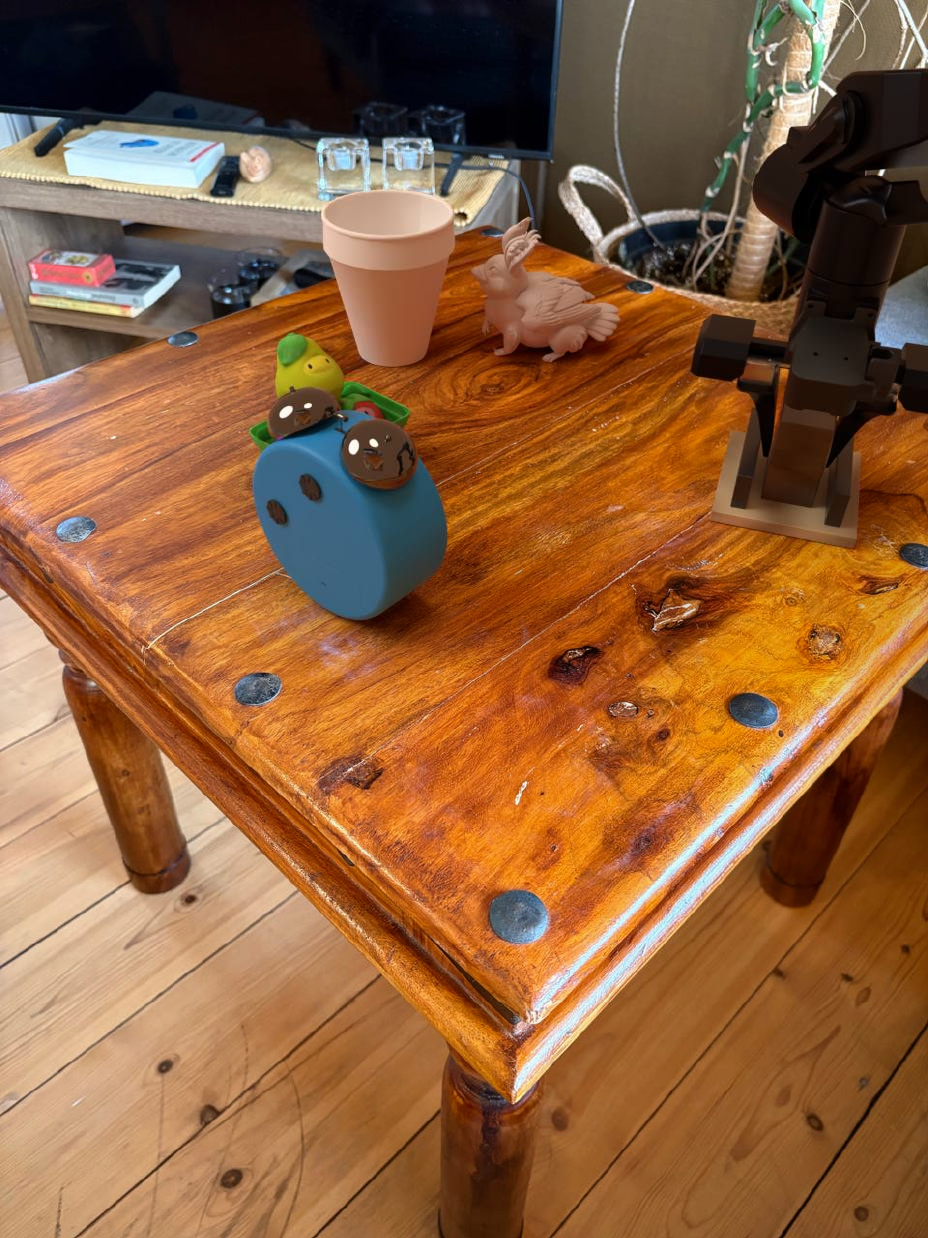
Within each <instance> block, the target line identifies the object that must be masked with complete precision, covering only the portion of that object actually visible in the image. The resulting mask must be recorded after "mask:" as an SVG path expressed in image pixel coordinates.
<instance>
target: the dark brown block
mask: <svg viewBox="0 0 928 1238" xmlns="http://www.w3.org/2000/svg"><path fill="white" fill-rule="evenodd" d="M782 395H783V396H784V394H782ZM783 396H782V397H783ZM838 418H839V417H838V416H832V415H830V414H829V413H826V412H820V411H814V410H808V409H804V410H796V409H792V408H790V407H788V406H787V405H786V404H785V402H784V400H783V398H782V399H781V404H780V408H779V411H778V415H777V419H776V422H775V425H774V433H773V439H772V444H771V448H770V452H769V456H768V459H767V464H766V470H765V475H764V481H763V486H762V492H761V499H766V500H771V501H777V502H782V503H787V504H793V505H798V506H803V507H808V508H812V505H813V502H814V499H815V496H816V492H817V489H818V486H819V483H820V479H821V478H822V475H823V473H824V470H825V467H826V464H827V460H828V457H829V453H830V450H831V446H832V442H833V438H834V433H835V428H836V423H837V420H838Z"/></svg>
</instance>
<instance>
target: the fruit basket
mask: <svg viewBox="0 0 928 1238" xmlns="http://www.w3.org/2000/svg"><path fill="white" fill-rule="evenodd" d="M276 366H277V367H276V374H275V378H274V379H275V381H274V385H275V387H274V388H275V393H276V396H277V400H278V399H279V398H280V397H281V396H283V395H285V394H287V393H289V392H290V390H289V387H291V386H294V389H295V390H296V389H299V388H302V387H318V388H322V389H324V390H327V391H328V392H330V393H331V394H333V395H334V396H335V397H336V399H337V400H338V402H339V404H340V407H341V410H340V411H342V410H352V411H358V412H361V413H365V414H368V415H370V416H373V417H375V418H379V419H385V420H388V421H391V422H394V423H395V424H397V425H399V426H400V427H402V428H403V429H404V430H405V426H406V425H407V423H408V420H409V419H410V415H411V409H409V407H407V406H406V405H404V404H402V403H400V402H397V401H396V400H393V399H391V398H389V397H388V396H386V395H384V394H381V393H380V392H378V391H375V390H374V389H372V388H370V387H368V386H366V385H364V384H361V383H360V382H357V381H345V379H346V378H345V375H344V373H343V370H342V369H341V367H340V366H339V364H338V363H337V362H336V360H334V359H333V357H331V356H330V355H329V354H327V352H325V351H324V350H323V349H322V347H321V346H320V345H319V344H318V342H316V341H315V340H314V339H312V338H310V337H307V336H305V335H302V334H296V332H294V331H293V332H290V333H287V334H286V336H284V337H282V338H281V339H280V340H279V342H278V343H277V345H276ZM248 432H249V435H250V437H251V439H252V441H253V443H254V444H255V446H257V448H258V449H259V451H260V454H261V453H262V452H263V451H264V449H265V448H267V447H268V446H269V445H270V444H272V443H274V442H276V441H278V440H280V439H282V438H284V437H286V436H288V435H290V434H291V433H290V434H287V435H283V436H279V437H271V436H270V433H269V431H268V427H267V418H266V419H265V420H263V421H260V422H259V423H257V424H255V425H253V426H252V427H250V428H249V430H248Z"/></svg>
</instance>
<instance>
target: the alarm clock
mask: <svg viewBox="0 0 928 1238" xmlns="http://www.w3.org/2000/svg"><path fill="white" fill-rule="evenodd" d="M289 390H290V392H289V393H287V394H285V395H283V396H281V397H280V398H279V399H278V398H277V400H275V401H274V403H273V404H272V406H271V407H270V410H269V411H268V414H267V417H266V419H267V427H268V431H269V433H270V436H271V437H279V436H283V435H287V434H290V433H291V434H290V435H288V436H286V437H284V438H282V439H280V440H278V441H276V442H274V443H272V444H270V445H269V446H268V447H267V448H265V449H264V451H263V452H262V453H261V452H260V455H259V456H258V458H257V460H256V463H255V466H254V468H253V473H252V494H253V500H254V506H255V511H256V515H257V518H258V521H259V523H260V526H261V529H262V532H263V534H264V537H265V539H266V540H267V543H268V544H269V547H270V549H271V551H272V552H273V554H274V555H275V557H276V559H277V560H278V562H279V563H280V565H281V566H282V568H283V569H284V571H285V572H286V573H287V575H288V576H289V577H290V579H291V580H292V581H293V582H294V583H295V584H296V585H297V586H298V587H299V589H300V590H302V591H303V592H304V593H305V595H307V596H308V597H309V598H310V599H311V600H312V601H314V602H315V603H316V604H318V605H319V606H320V607H322V608H323V609H325V610H327V611H328V612H330V613H332V614H334V615H336V616H337V617H341V618H344V619H347V620H352V621H366V620H370V619H373V618H375V617H377V616H379V615H381V614H382V613H384V612H386V610H388V609H389V608H391V607H392V606H393V605H395V604H396V603H398V602H399V601H401V600H402V599H406V600H407V601H409V600H411V599H412V597H411V593H412V592H413V591H415V590H416V589H417V588H419V587H420V586H422V585H423V584H425V583H426V582H428V581H429V580H430V579H431V578H432V577H433V576H435V575H436V573H437V572H438V571H439V569H440V568H441V566H442V565H443V563H444V560H445V556H446V554H447V553H446V552H447V547H448V535H449V534H448V523H447V516H446V512H445V508H444V504H443V501H442V498H441V496H440V491H439V490H438V488H437V485H436V483H435V481H434V480H433V477H432V475H431V474H430V472H429V470H428V468H427V467H426V465H425V463H424V462H423V460H422V459H421V458H420V456H419V454H418V448H417V446H416V443H415V442H414V440H413V438H412V436H411V435H410V434H409V433H408V431H407V430H405V428H404V429H403V428H402V427H400V426H399V425H397V424H395V423H394V422H391V421H388V420H385V419H379V418H375V417H373V416H370V415H368V414H365V413H361V412H358V411H352V410H342V411H340V410H341V407H340V404H339V402H338V400H337V399H336V397H335V396H334V395H333V394H331V393H330V392H328V391H327V390H324V389H322V388H318V387H302V388H299V389H296V390H295V389H294V386H291V387H289Z"/></svg>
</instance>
